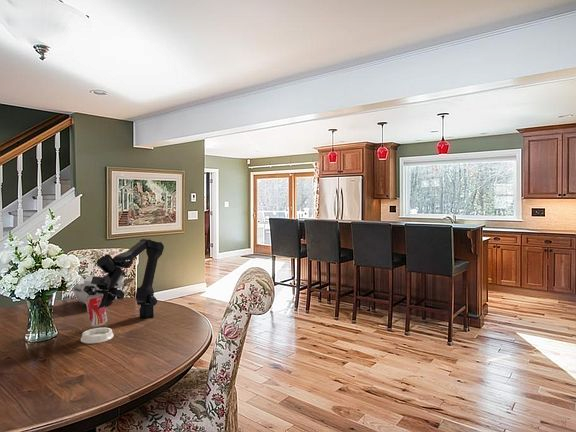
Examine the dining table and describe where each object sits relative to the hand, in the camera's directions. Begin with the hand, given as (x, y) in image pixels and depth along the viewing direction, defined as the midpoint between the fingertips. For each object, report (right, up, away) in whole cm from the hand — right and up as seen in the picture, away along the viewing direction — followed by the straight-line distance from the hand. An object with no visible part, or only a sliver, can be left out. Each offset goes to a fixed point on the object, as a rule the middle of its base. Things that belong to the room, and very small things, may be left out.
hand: (94, 309), depth 175 cm
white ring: (+1, -13, +2) cm, 13 cm away
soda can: (+1, -7, +3) cm, 8 cm away
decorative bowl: (-27, -11, +59) cm, 66 cm away
